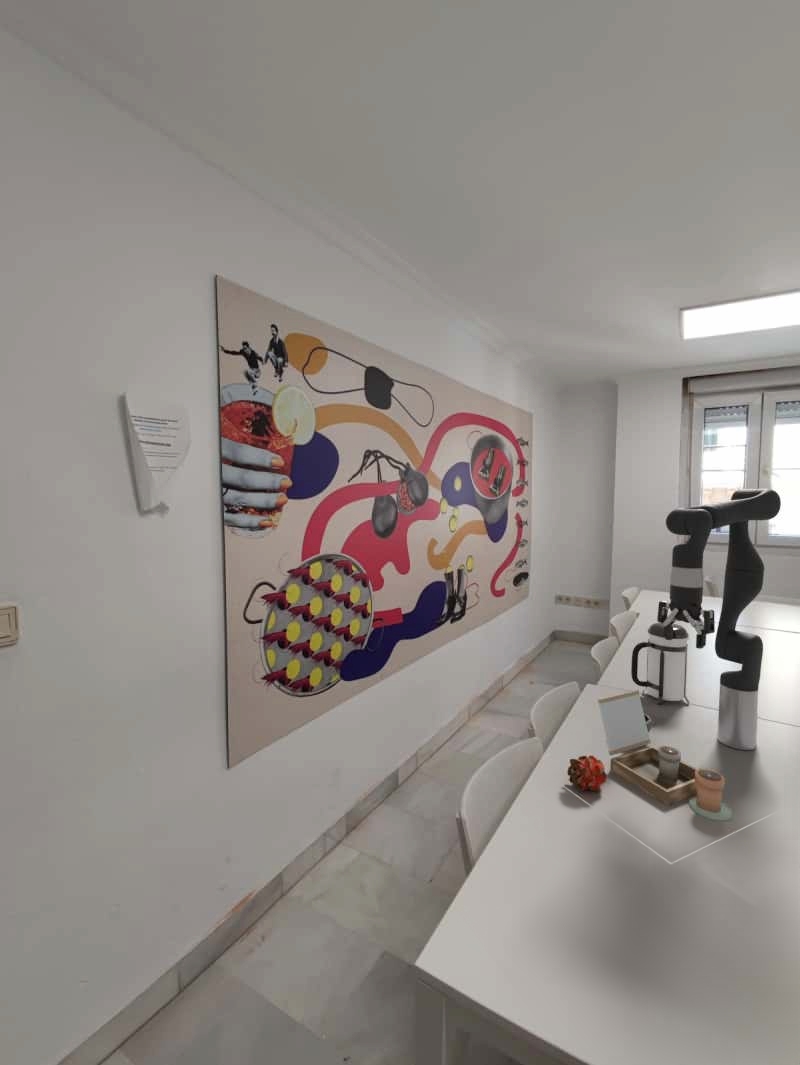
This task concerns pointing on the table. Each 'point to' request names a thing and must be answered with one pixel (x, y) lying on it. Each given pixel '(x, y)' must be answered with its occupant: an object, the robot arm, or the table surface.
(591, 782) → the dragon fruit
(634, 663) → the coffee press
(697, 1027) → the table surface
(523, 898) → the table surface
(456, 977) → the table surface
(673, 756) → the grey pot
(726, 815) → the saucer
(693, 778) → the box
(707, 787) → the terracotta pot
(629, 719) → the lid
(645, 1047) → the table surface
